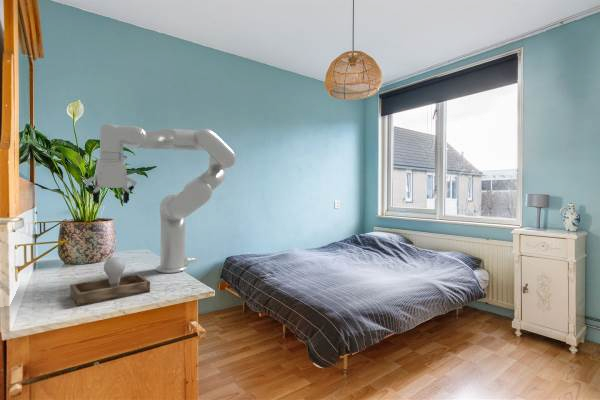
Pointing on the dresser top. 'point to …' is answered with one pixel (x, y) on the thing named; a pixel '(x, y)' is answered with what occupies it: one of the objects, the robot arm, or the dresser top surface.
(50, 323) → the dresser top surface
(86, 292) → the walnut tray
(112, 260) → the lightbulb
